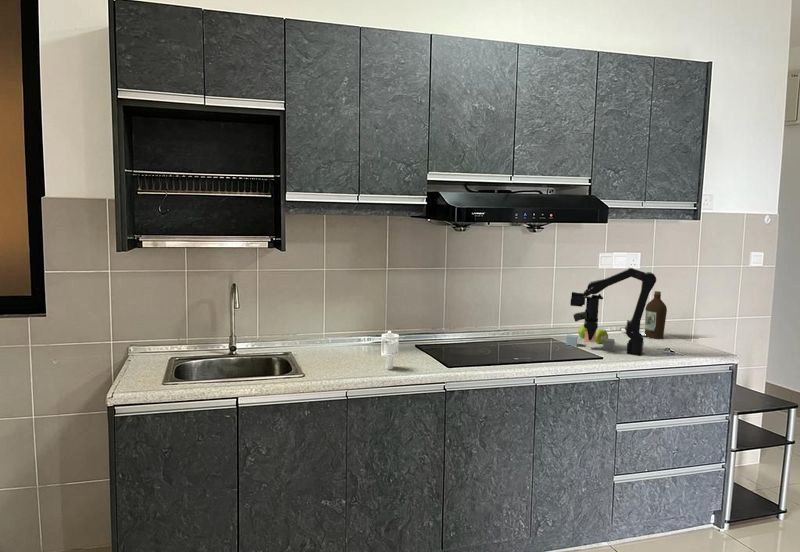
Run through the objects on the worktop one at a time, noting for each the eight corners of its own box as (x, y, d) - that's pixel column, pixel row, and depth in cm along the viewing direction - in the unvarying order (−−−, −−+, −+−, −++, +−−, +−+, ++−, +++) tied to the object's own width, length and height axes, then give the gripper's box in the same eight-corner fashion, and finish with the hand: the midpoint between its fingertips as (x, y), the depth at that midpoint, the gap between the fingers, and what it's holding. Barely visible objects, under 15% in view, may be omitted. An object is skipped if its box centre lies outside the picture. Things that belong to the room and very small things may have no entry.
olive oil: (652, 334, 331) (656, 289, 328) (668, 338, 321) (672, 292, 318) (638, 335, 326) (642, 290, 323) (654, 340, 316) (658, 293, 313)
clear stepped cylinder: (396, 365, 251) (397, 330, 249) (398, 370, 244) (400, 334, 242) (379, 365, 250) (380, 330, 248) (381, 370, 243) (382, 334, 241)
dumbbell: (609, 343, 305) (610, 330, 304) (596, 344, 302) (597, 330, 301) (588, 336, 320) (589, 323, 319) (576, 337, 317) (577, 324, 316)
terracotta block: (595, 340, 293) (595, 330, 292) (595, 342, 288) (595, 332, 288) (584, 339, 295) (585, 329, 294) (584, 341, 290) (585, 331, 289)
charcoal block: (613, 349, 294) (614, 339, 293) (613, 351, 289) (614, 341, 288) (602, 348, 295) (603, 338, 295) (602, 350, 290) (603, 340, 290)
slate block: (576, 344, 300) (577, 335, 299) (576, 347, 295) (577, 337, 295) (566, 343, 302) (567, 334, 301) (566, 345, 297) (566, 336, 296)
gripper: (575, 303, 301) (573, 333, 303) (574, 309, 283) (571, 341, 285) (599, 305, 297) (596, 335, 299) (598, 311, 280) (596, 343, 282)
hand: (589, 339), depth 291 cm, fingers closed on terracotta block, 5 cm apart
